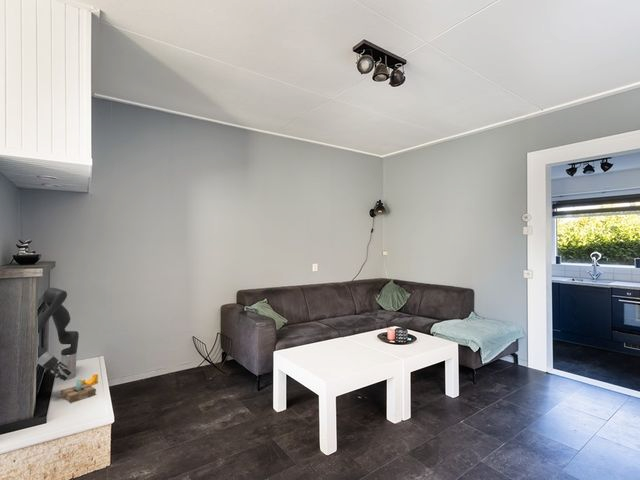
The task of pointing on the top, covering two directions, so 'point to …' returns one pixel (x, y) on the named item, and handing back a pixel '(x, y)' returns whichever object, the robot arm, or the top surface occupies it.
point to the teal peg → (78, 385)
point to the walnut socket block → (78, 393)
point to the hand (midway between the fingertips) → (68, 376)
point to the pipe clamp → (91, 380)
